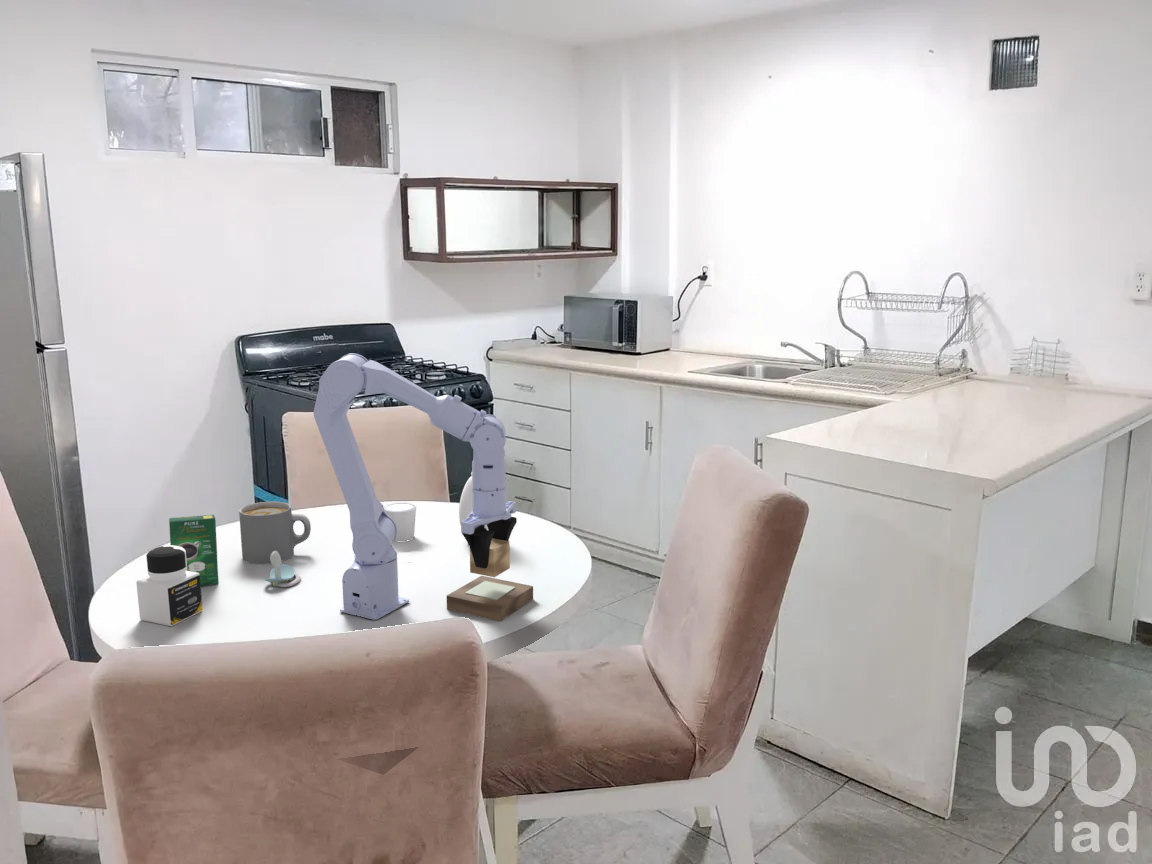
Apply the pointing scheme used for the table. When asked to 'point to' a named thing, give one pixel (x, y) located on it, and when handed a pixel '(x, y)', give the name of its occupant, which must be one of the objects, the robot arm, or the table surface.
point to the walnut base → (490, 598)
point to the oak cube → (494, 559)
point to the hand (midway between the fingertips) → (490, 562)
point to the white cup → (403, 519)
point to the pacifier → (281, 572)
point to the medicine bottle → (168, 588)
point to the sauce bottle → (466, 501)
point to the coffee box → (197, 545)
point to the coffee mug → (269, 531)
